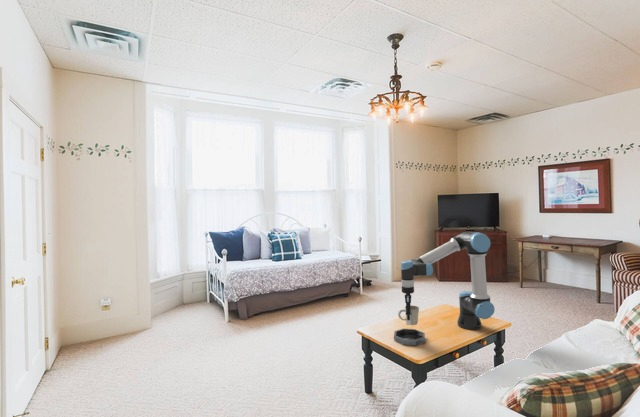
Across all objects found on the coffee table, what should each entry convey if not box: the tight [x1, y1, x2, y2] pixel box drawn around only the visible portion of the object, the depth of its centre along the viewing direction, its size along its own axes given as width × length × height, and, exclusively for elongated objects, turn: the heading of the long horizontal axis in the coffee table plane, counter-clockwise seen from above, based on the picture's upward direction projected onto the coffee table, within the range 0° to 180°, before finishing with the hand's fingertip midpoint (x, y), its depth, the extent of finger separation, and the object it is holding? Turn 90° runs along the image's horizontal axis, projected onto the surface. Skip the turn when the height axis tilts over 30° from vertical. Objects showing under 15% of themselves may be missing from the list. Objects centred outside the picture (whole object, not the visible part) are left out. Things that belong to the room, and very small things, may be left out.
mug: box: [397, 305, 420, 326], centre depth 208 cm, size 8×13×10 cm, turn 79°
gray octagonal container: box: [393, 328, 426, 347], centre depth 208 cm, size 18×18×3 cm
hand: (408, 322), depth 208 cm, fingers closed on mug, 6 cm apart
